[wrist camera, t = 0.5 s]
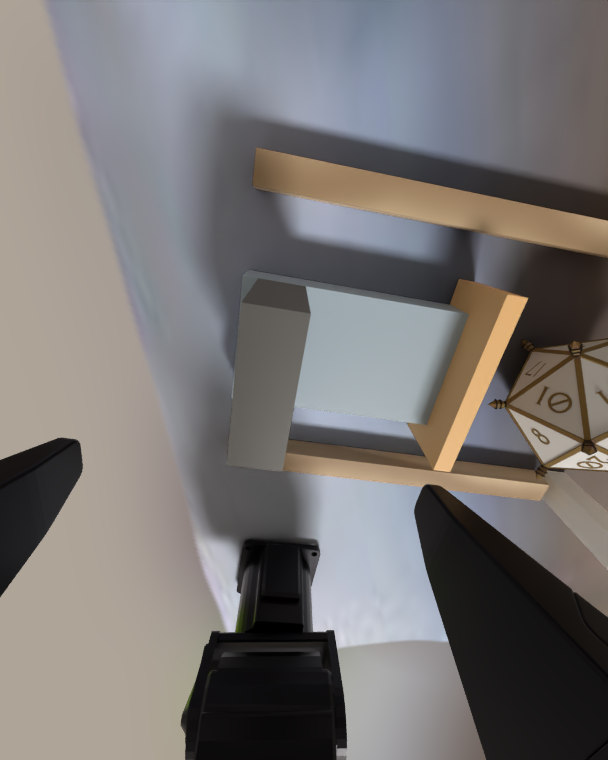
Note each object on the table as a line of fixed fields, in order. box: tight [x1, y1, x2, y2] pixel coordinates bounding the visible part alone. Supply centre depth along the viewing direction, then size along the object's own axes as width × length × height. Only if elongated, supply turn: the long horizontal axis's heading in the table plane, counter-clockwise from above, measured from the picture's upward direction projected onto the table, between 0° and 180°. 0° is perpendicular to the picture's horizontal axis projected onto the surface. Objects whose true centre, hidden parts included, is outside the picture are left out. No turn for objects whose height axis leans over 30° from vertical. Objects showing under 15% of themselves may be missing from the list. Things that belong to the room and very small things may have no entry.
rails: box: [253, 147, 608, 501], centre depth 20 cm, size 18×23×2 cm
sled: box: [227, 270, 528, 472], centre depth 17 cm, size 10×13×8 cm
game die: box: [488, 338, 608, 480], centre depth 18 cm, size 9×8×10 cm
